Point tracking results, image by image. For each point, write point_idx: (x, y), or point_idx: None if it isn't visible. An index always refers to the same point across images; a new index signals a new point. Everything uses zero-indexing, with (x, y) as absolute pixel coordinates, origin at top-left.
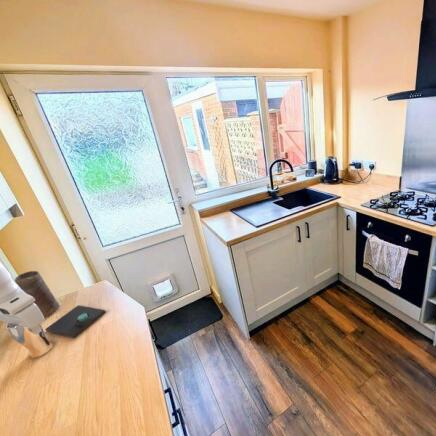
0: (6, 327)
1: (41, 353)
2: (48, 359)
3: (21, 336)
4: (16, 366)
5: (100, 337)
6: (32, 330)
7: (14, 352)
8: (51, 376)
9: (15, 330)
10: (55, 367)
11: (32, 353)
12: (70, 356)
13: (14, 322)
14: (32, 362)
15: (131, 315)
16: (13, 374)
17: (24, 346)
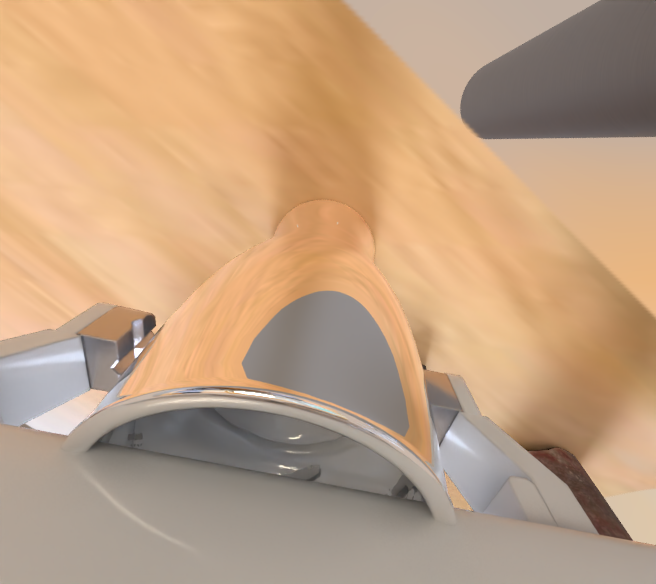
0: (342, 426)
1: (281, 221)
2: (209, 187)
3: (217, 275)
4: (389, 136)
5: (56, 314)
6: (27, 340)
7: (512, 241)
8: (40, 59)
9: (171, 344)
10: (94, 129)
11: (315, 211)
12: (88, 205)
13: (106, 564)
14: (299, 166)
15: (46, 416)
16: (345, 71)
17: (324, 229)
